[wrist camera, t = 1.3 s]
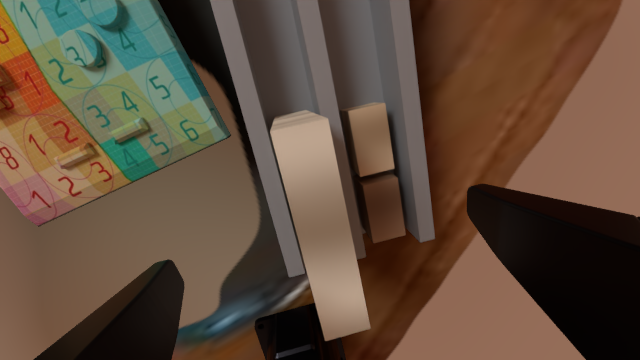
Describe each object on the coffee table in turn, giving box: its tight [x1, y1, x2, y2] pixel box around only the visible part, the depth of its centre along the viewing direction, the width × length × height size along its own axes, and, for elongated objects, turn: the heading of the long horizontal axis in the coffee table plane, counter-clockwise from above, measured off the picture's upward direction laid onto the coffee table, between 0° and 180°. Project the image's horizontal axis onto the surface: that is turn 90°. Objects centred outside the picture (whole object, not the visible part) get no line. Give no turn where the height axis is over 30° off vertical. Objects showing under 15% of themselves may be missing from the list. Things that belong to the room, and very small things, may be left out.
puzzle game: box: [0, 0, 231, 226], centre depth 15 cm, size 12×5×20 cm
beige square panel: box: [270, 110, 371, 341], centre depth 15 cm, size 9×2×9 cm, turn 12°
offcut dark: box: [353, 171, 406, 244], centre depth 19 cm, size 4×2×2 cm, turn 12°
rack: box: [210, 0, 435, 277], centre depth 17 cm, size 24×10×4 cm, turn 12°
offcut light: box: [341, 103, 395, 177], centre depth 18 cm, size 4×2×2 cm, turn 12°
